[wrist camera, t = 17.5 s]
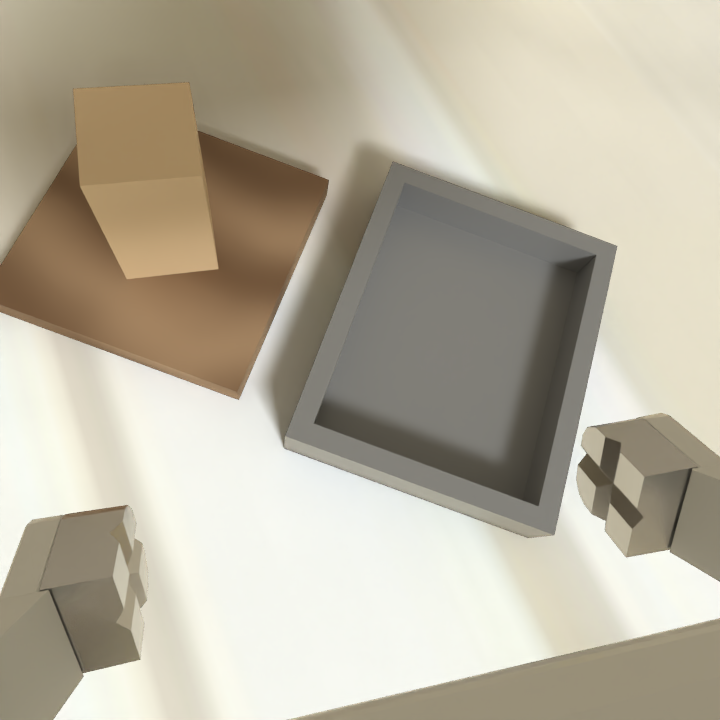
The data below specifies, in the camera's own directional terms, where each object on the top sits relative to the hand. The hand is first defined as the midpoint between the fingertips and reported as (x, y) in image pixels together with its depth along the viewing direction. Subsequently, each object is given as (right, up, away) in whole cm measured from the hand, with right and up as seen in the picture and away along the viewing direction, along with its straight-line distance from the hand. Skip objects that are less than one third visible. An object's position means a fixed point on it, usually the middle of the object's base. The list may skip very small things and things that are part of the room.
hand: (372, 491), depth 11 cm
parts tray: (+5, +3, +22) cm, 23 cm away
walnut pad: (-10, +8, +22) cm, 26 cm away
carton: (-10, +9, +21) cm, 25 cm away
